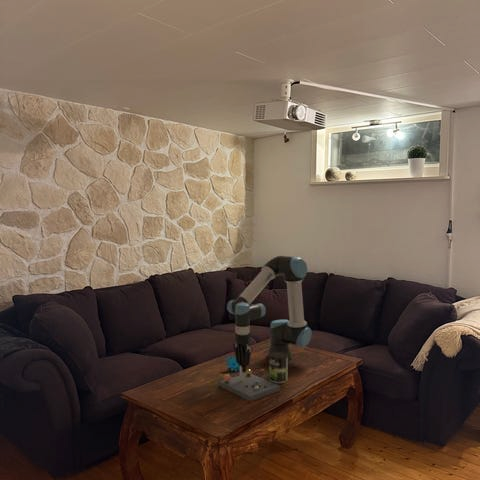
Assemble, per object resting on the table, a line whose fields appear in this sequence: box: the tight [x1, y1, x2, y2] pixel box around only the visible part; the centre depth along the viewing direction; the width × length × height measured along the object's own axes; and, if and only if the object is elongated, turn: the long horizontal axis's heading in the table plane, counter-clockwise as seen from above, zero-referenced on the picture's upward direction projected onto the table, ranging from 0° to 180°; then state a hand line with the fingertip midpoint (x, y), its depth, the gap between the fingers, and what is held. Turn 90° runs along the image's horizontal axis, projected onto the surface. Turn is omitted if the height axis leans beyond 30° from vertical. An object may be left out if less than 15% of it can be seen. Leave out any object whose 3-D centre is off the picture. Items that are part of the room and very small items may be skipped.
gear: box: [225, 354, 240, 373], centre depth 257 cm, size 11×6×10 cm
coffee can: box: [268, 351, 289, 384], centre depth 241 cm, size 10×10×14 cm
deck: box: [219, 373, 281, 402], centre depth 229 cm, size 24×20×2 cm
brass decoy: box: [245, 368, 253, 375], centre depth 241 cm, size 3×3×3 cm
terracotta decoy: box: [222, 373, 232, 382], centre depth 231 cm, size 4×4×4 cm
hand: (242, 377), depth 234 cm, fingers closed
